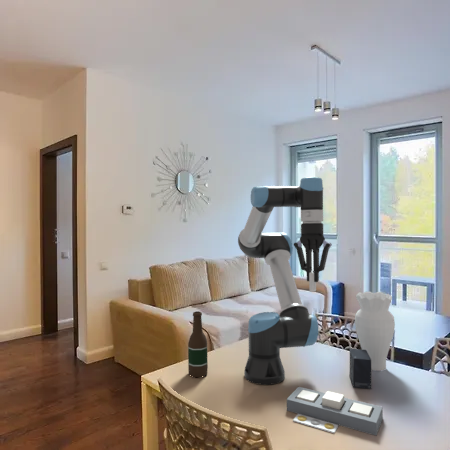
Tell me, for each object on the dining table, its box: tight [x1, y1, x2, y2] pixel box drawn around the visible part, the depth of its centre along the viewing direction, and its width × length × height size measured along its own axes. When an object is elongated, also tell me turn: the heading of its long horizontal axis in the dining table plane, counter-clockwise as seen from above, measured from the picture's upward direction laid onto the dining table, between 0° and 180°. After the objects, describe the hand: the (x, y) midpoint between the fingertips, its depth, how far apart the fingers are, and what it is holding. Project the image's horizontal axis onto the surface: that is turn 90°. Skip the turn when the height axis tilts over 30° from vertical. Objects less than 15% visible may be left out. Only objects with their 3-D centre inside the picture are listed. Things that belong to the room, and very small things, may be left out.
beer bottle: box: [187, 310, 209, 378], centre depth 141 cm, size 8×8×24 cm
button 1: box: [297, 390, 319, 403], centre depth 114 cm, size 5×5×2 cm
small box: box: [349, 348, 372, 390], centre depth 132 cm, size 11×6×10 cm, turn 168°
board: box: [286, 386, 384, 436], centre depth 110 cm, size 26×10×4 cm, turn 58°
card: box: [292, 413, 339, 434], centre depth 105 cm, size 12×4×1 cm, turn 58°
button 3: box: [350, 402, 372, 418], centre depth 106 cm, size 5×5×2 cm
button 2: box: [322, 390, 345, 410], centre depth 110 cm, size 5×5×2 cm
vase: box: [354, 291, 396, 372], centre depth 145 cm, size 15×15×29 cm
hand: (312, 291), depth 125 cm, fingers closed
